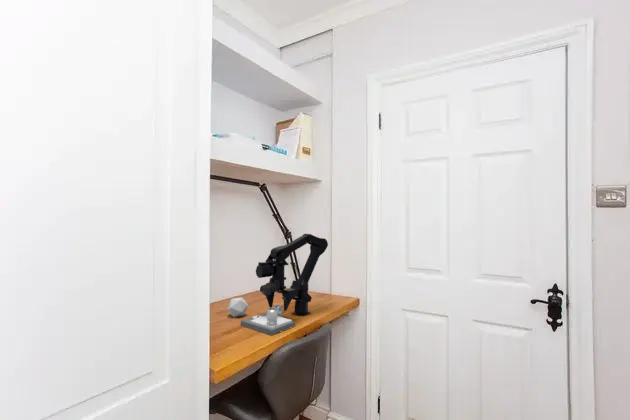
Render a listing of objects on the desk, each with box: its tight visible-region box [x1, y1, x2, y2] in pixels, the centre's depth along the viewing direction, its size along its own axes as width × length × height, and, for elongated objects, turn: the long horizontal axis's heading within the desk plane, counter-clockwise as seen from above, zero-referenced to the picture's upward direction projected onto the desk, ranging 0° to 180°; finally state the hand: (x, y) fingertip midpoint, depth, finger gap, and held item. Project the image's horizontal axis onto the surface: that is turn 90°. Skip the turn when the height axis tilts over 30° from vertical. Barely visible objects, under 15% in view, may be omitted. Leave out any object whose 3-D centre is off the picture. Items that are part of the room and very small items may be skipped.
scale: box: [240, 313, 296, 336], centre depth 142 cm, size 14×19×3 cm
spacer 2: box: [272, 304, 284, 317], centre depth 152 cm, size 4×4×6 cm
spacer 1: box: [266, 307, 278, 326], centre depth 135 cm, size 4×4×6 cm
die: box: [226, 297, 249, 318], centre depth 156 cm, size 8×9×10 cm
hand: (277, 309), depth 152 cm, fingers open, 9 cm apart
